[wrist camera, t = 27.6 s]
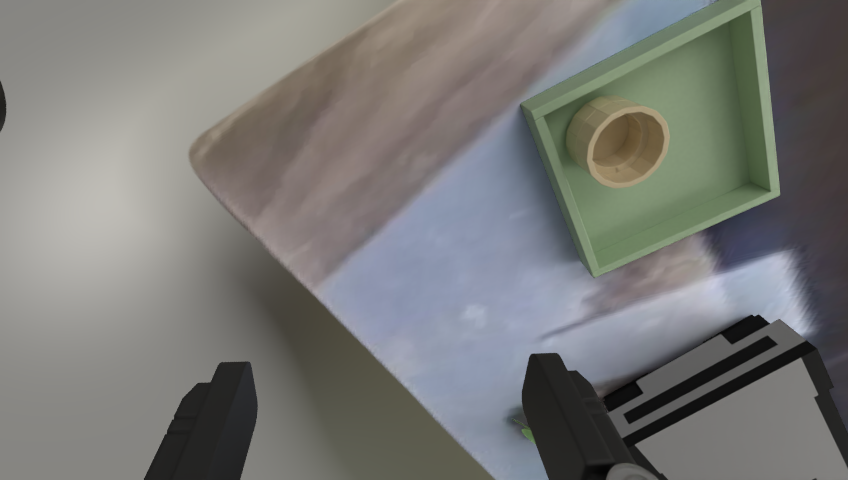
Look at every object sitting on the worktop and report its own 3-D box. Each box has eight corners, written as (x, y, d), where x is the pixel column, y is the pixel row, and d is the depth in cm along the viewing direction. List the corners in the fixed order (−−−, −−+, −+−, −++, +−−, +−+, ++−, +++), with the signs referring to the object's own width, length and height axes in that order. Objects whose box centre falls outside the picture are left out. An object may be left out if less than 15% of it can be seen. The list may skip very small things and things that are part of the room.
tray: (519, 103, 37) (530, 111, 34) (729, -6, 34) (760, -7, 31) (580, 261, 45) (593, 278, 42) (754, 182, 42) (780, 195, 39)
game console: (686, 501, 67) (723, 561, 60) (589, 391, 54) (622, 451, 47) (822, 437, 62) (879, 493, 55) (753, 297, 49) (817, 348, 42)
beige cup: (553, 116, 37) (576, 132, 32) (625, 79, 36) (660, 90, 32) (575, 179, 40) (599, 201, 35) (643, 146, 39) (676, 165, 34)
